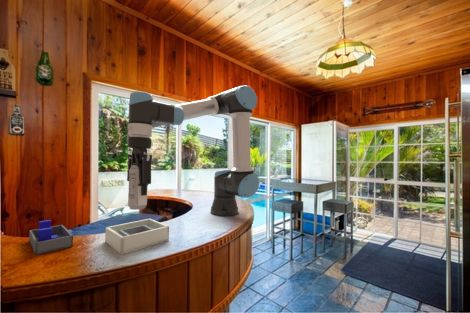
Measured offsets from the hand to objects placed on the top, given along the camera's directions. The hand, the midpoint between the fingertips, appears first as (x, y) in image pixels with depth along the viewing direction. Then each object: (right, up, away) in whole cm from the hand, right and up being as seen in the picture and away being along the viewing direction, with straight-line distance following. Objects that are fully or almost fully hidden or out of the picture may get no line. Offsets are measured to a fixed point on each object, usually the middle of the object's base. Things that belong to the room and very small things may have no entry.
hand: (137, 203), depth 77 cm
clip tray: (-28, -13, -3) cm, 31 cm away
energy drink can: (0, -2, 0) cm, 2 cm away
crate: (0, -13, 0) cm, 13 cm away
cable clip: (-28, -12, -4) cm, 31 cm away
